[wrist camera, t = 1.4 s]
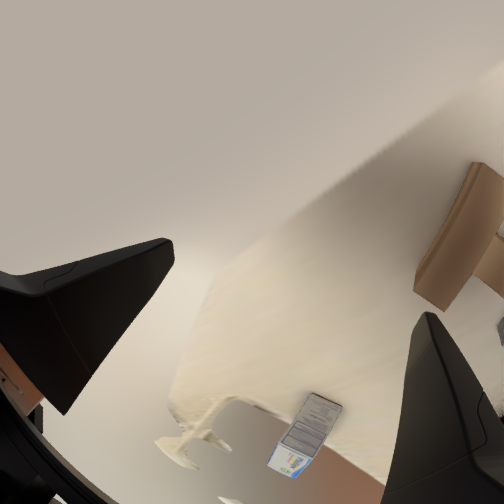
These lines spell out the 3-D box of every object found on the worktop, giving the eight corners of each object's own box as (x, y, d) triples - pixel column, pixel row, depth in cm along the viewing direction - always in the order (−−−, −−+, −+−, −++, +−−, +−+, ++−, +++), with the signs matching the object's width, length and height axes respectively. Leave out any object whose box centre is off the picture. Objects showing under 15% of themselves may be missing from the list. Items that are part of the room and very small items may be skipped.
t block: (542, 219, 12) (561, 231, 9) (482, 317, 17) (487, 344, 14) (472, 162, 15) (482, 162, 12) (416, 270, 20) (412, 290, 17)
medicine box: (312, 391, 30) (276, 442, 24) (344, 406, 28) (312, 460, 22) (297, 421, 34) (264, 465, 27) (324, 434, 32) (294, 480, 25)
